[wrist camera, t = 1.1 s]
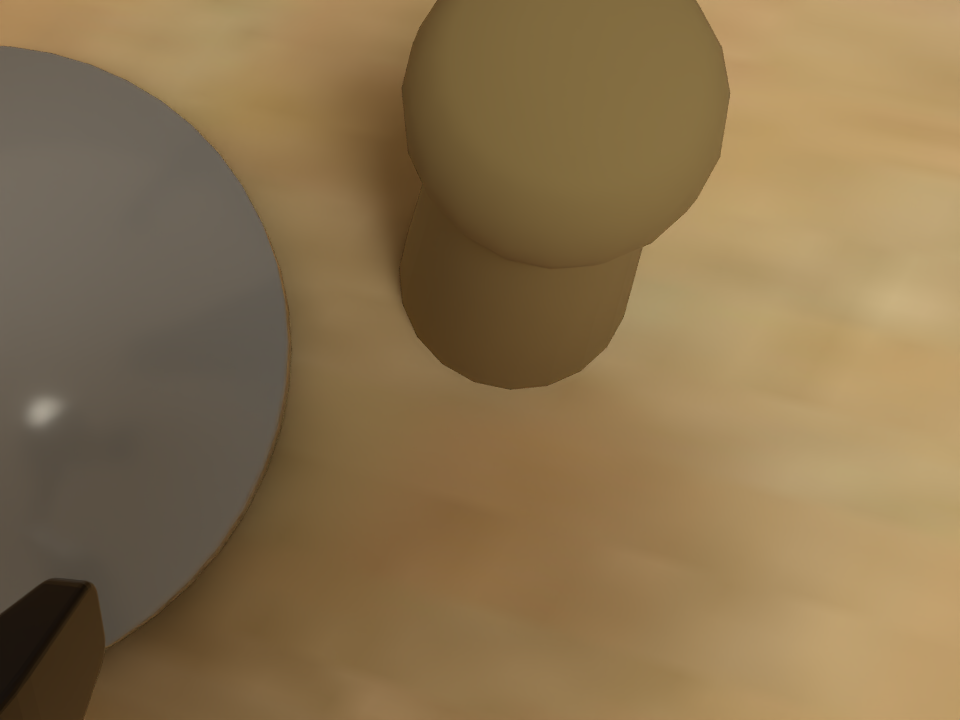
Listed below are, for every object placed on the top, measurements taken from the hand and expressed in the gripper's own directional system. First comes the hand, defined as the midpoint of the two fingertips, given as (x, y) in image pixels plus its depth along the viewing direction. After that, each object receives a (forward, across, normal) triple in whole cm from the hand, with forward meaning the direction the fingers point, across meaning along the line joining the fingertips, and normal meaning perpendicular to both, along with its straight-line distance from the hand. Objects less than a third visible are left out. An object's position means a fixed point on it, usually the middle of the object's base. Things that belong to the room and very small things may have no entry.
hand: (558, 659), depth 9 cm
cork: (+15, 0, +4) cm, 16 cm away
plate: (+13, +13, +6) cm, 20 cm away
